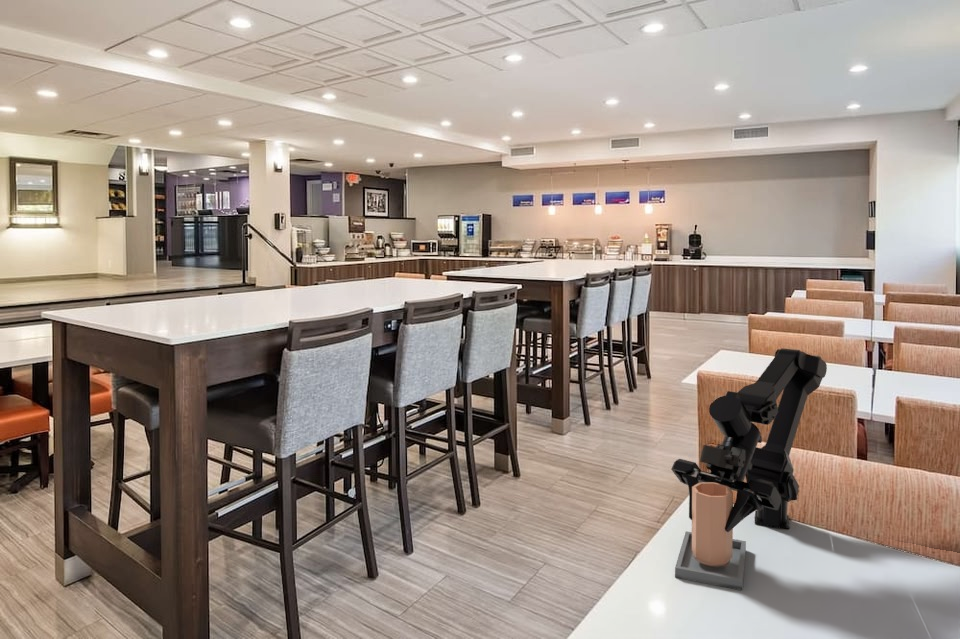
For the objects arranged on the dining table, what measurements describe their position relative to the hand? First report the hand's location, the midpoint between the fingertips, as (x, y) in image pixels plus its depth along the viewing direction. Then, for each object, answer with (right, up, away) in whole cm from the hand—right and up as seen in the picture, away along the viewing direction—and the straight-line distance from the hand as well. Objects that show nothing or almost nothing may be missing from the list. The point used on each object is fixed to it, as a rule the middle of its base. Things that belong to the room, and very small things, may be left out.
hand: (708, 524), depth 109 cm
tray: (+2, -8, +3) cm, 9 cm away
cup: (+1, -7, +2) cm, 7 cm away
